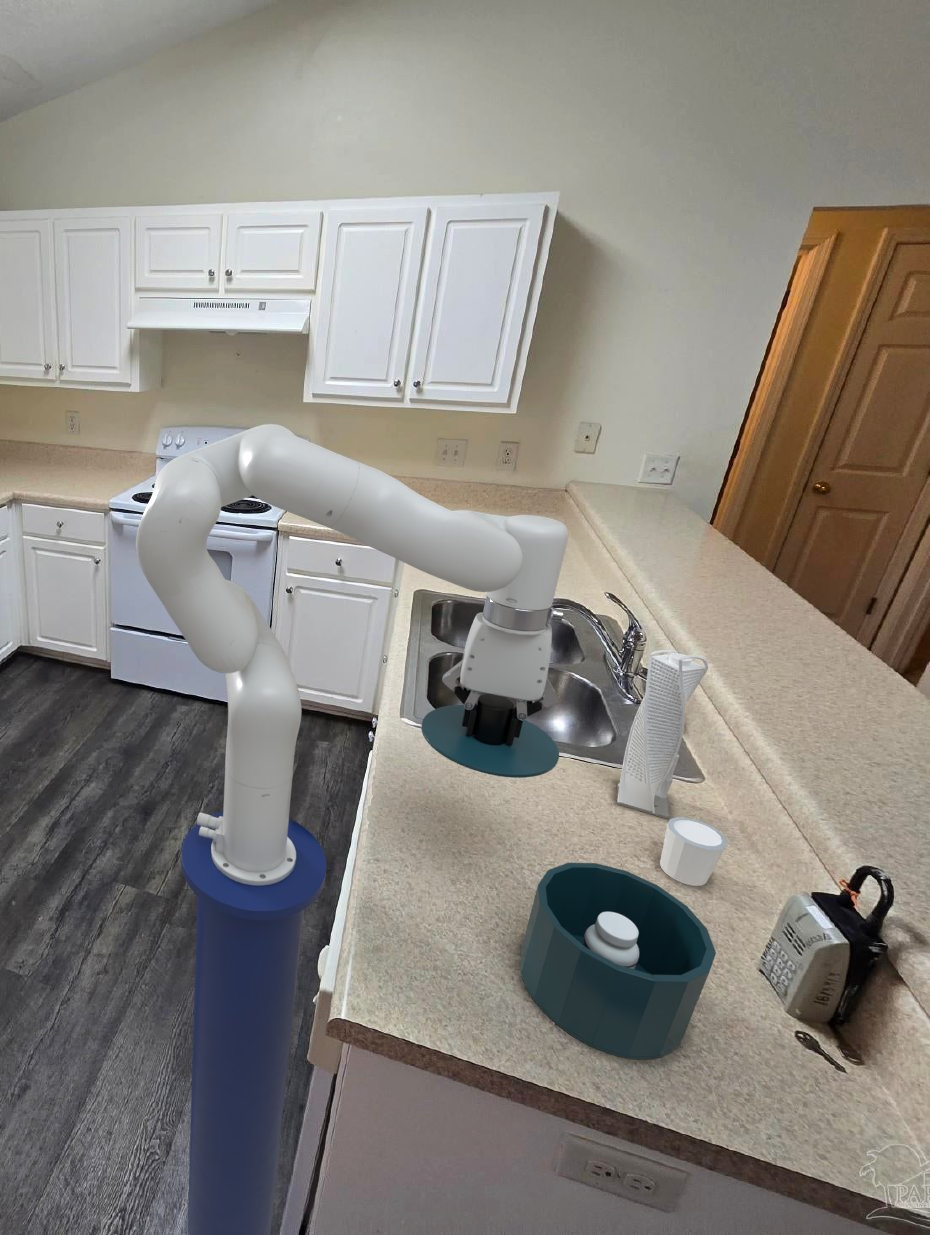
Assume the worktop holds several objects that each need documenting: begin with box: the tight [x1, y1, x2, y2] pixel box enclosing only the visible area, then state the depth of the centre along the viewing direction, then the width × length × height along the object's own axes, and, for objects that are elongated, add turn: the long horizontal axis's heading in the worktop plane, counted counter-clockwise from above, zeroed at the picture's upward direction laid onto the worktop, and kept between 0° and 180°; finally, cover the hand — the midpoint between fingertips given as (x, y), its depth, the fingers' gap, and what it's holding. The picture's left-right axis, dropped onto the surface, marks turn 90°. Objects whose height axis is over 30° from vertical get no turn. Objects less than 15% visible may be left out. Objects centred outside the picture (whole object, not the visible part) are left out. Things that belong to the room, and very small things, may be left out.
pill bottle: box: [582, 912, 639, 970], centre depth 79 cm, size 5×5×10 cm
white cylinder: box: [659, 816, 729, 887], centre depth 98 cm, size 7×7×7 cm
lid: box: [420, 693, 560, 779], centre depth 94 cm, size 17×17×7 cm
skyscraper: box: [616, 648, 709, 820], centre depth 109 cm, size 8×8×28 cm
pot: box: [519, 862, 717, 1061], centre depth 79 cm, size 17×17×12 cm
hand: (488, 734), depth 95 cm, fingers closed on lid, 4 cm apart
